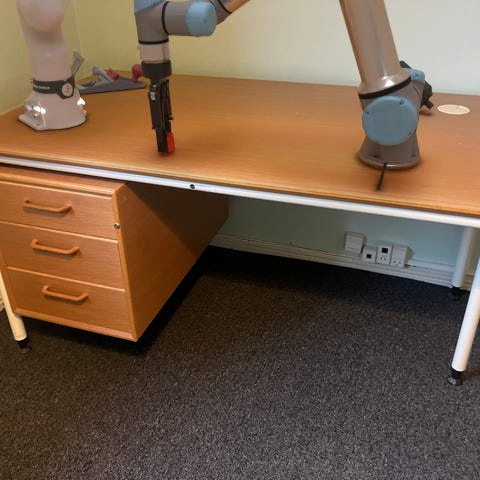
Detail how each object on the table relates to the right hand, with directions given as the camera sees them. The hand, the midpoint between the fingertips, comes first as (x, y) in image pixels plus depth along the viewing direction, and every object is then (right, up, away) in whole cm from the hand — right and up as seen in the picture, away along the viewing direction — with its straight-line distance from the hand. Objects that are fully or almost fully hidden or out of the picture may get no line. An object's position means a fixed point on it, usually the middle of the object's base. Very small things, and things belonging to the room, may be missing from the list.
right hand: (165, 147), depth 144 cm
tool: (+72, +17, +28) cm, 80 cm away
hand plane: (-30, +31, +54) cm, 69 cm away
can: (0, 0, 0) cm, 0 cm away
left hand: (-43, +16, -27) cm, 53 cm away
